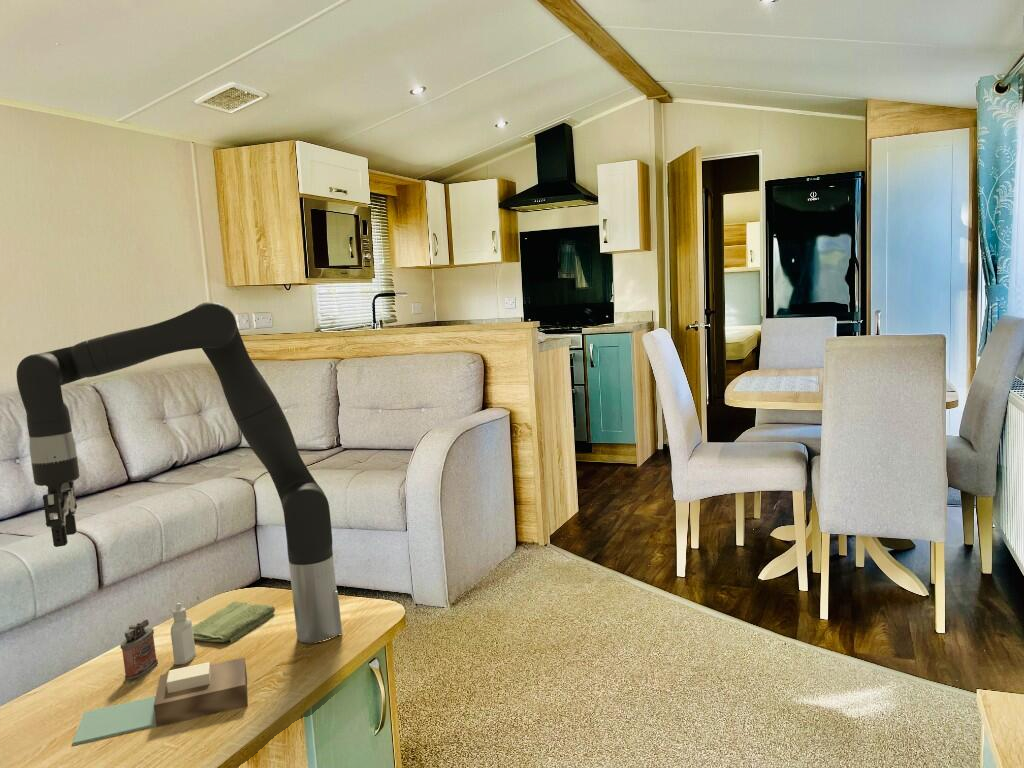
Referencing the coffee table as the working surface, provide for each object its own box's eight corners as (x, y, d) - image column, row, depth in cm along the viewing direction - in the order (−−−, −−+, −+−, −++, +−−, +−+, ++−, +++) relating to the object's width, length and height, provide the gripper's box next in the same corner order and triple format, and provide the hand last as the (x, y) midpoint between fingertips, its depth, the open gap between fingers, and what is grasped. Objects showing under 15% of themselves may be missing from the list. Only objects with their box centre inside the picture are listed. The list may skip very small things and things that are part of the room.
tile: (211, 672, 143) (209, 661, 143) (210, 683, 138) (208, 673, 138) (170, 680, 141) (169, 670, 140) (168, 693, 136) (166, 682, 136)
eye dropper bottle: (203, 654, 160) (196, 599, 159) (180, 667, 155) (173, 610, 154) (189, 651, 162) (183, 597, 161) (166, 663, 157) (159, 607, 156)
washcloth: (180, 643, 168) (178, 629, 168) (235, 610, 184) (234, 598, 184) (227, 648, 163) (226, 634, 163) (280, 615, 180) (278, 601, 179)
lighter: (135, 682, 150) (129, 633, 149) (120, 681, 151) (114, 633, 150) (162, 662, 158) (156, 616, 157) (147, 662, 158) (141, 616, 157)
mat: (162, 696, 143) (162, 694, 143) (156, 725, 133) (156, 723, 133) (84, 713, 139) (84, 711, 139) (72, 745, 129) (72, 742, 128)
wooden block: (247, 676, 148) (244, 657, 148) (247, 705, 137) (245, 684, 137) (162, 695, 144) (160, 675, 143) (156, 727, 132) (153, 705, 132)
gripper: (68, 461, 141) (80, 546, 142) (83, 449, 154) (94, 527, 156) (21, 466, 138) (34, 553, 140) (40, 454, 151) (52, 533, 153)
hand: (65, 539), depth 148 cm, fingers open, 8 cm apart
